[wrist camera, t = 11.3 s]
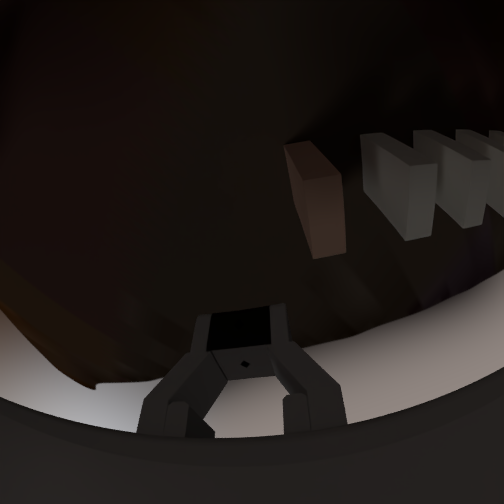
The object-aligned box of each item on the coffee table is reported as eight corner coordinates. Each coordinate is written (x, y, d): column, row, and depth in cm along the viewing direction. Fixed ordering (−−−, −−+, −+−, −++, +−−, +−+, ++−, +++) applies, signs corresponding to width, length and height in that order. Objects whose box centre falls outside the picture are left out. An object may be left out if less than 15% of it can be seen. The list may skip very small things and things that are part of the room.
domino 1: (294, 202, 20) (313, 259, 15) (283, 144, 18) (302, 180, 12) (317, 198, 20) (346, 252, 14) (309, 140, 18) (341, 174, 12)
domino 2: (363, 190, 20) (405, 241, 14) (359, 134, 17) (409, 165, 12) (384, 187, 20) (430, 235, 14) (382, 132, 17) (437, 163, 11)
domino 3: (413, 183, 19) (463, 228, 14) (412, 130, 17) (472, 160, 11) (430, 181, 19) (481, 224, 13) (431, 129, 17) (491, 159, 11)
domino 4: (453, 178, 19) (505, 218, 13) (455, 129, 16) (515, 159, 11) (467, 177, 19) (518, 215, 13) (470, 129, 16) (528, 158, 11)
